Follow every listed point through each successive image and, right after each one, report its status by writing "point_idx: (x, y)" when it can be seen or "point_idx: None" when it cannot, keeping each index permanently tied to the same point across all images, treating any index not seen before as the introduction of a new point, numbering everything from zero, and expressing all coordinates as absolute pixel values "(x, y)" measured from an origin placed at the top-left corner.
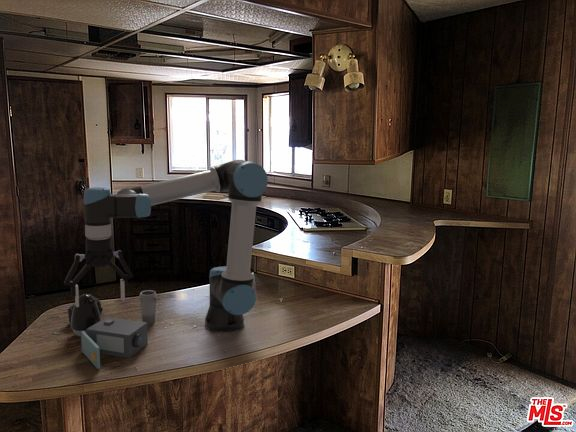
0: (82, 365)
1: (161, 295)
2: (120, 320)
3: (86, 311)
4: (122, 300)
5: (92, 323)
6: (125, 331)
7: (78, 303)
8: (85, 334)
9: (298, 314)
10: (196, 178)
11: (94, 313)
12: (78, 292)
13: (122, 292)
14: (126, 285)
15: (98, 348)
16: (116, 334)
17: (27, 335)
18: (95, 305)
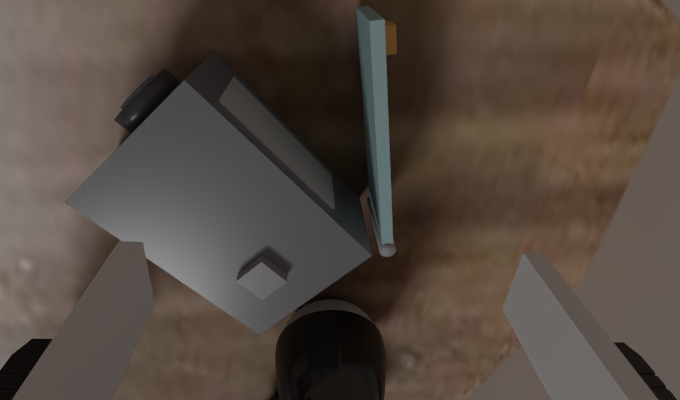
0: (407, 90)
1: None
2: (205, 280)
3: (340, 382)
4: (141, 243)
5: (317, 330)
6: (197, 142)
7: (542, 273)
8: (386, 214)
9: None
10: None
11: (305, 370)
12: (604, 364)
13: (103, 304)
14: (8, 386)
15: (374, 19)
16: (249, 138)
17: (482, 372)
18: None
